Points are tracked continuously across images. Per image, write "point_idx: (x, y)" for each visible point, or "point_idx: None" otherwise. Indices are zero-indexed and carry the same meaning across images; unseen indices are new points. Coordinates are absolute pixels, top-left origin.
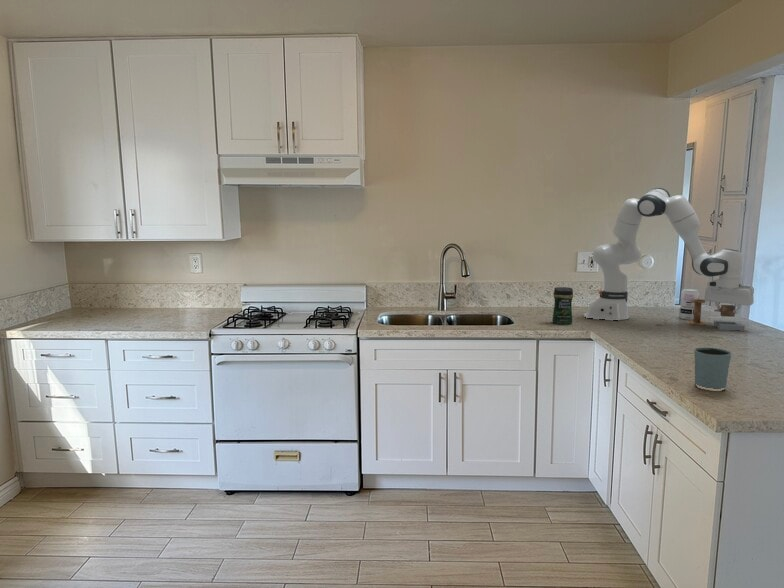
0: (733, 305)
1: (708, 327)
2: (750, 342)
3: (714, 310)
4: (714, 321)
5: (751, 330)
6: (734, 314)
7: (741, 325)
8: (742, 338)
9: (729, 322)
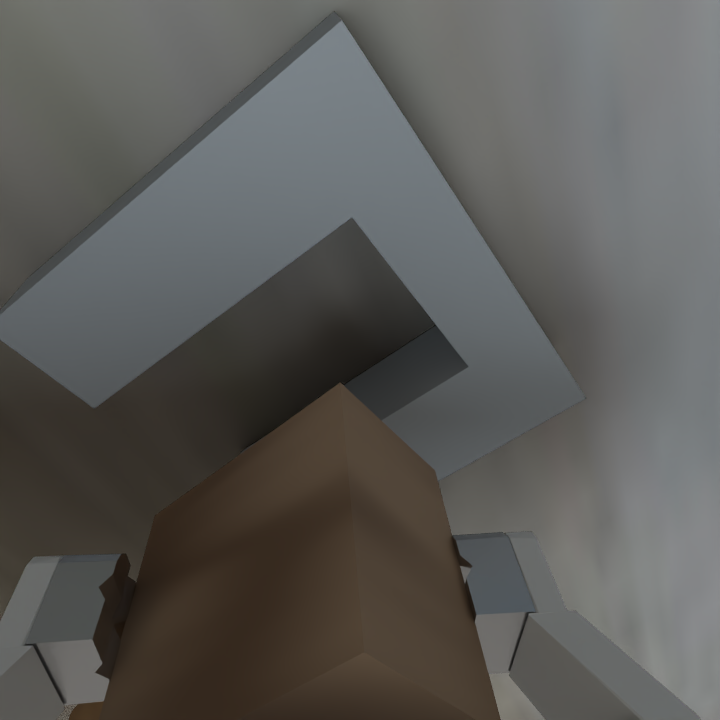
0: (411, 691)
1: (109, 459)
2: (671, 672)
3: (72, 714)
4: (34, 351)
5: (632, 214)
6: (440, 510)
7: (540, 405)
8: (601, 623)
9: (275, 270)
